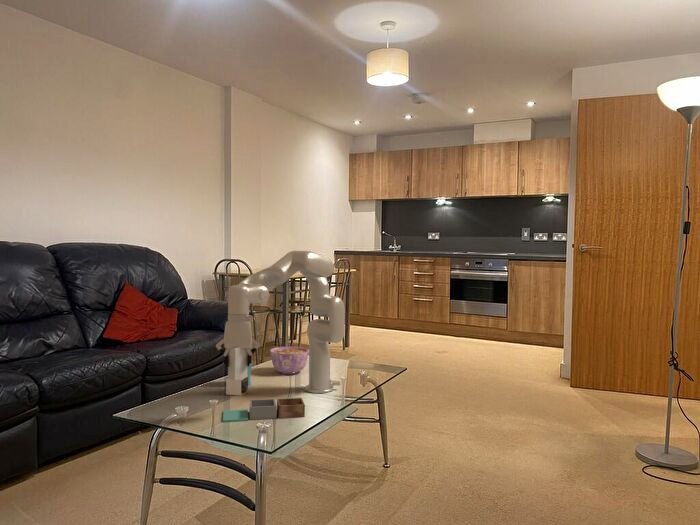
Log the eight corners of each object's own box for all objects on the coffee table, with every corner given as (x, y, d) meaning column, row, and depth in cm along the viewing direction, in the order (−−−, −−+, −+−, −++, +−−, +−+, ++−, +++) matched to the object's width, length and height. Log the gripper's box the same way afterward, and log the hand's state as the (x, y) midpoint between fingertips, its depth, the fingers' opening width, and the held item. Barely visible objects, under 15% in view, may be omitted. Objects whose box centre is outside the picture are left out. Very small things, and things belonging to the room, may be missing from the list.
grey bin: (274, 410, 202) (274, 398, 202) (276, 418, 193) (276, 406, 193) (249, 411, 200) (249, 400, 200) (250, 419, 191) (250, 407, 191)
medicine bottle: (241, 396, 221) (241, 367, 221) (225, 394, 223) (226, 366, 223) (248, 391, 228) (248, 364, 228) (232, 390, 230) (233, 363, 230)
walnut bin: (301, 409, 204) (301, 397, 204) (304, 416, 195) (304, 404, 195) (276, 410, 202) (277, 398, 202) (278, 418, 193) (279, 406, 193)
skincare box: (240, 376, 198) (240, 344, 198) (248, 378, 195) (248, 345, 195) (227, 378, 193) (227, 346, 193) (234, 380, 190) (235, 347, 190)
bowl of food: (284, 379, 251) (284, 355, 251) (261, 371, 266) (262, 349, 266) (316, 373, 265) (317, 350, 264) (293, 366, 279) (293, 345, 279)
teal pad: (247, 410, 201) (247, 409, 201) (248, 420, 189) (248, 419, 189) (223, 411, 199) (223, 410, 199) (222, 422, 187) (222, 420, 187)
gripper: (261, 316, 199) (260, 363, 200) (214, 317, 195) (214, 364, 196) (262, 319, 192) (261, 367, 192) (213, 320, 188) (213, 369, 188)
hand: (237, 365), depth 194 cm, fingers closed on skincare box, 7 cm apart
